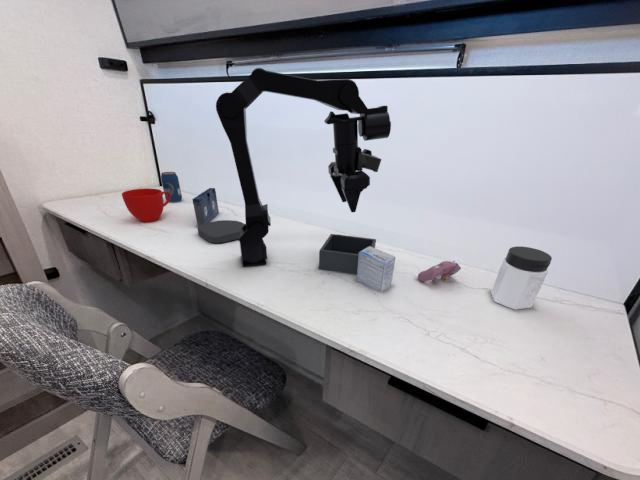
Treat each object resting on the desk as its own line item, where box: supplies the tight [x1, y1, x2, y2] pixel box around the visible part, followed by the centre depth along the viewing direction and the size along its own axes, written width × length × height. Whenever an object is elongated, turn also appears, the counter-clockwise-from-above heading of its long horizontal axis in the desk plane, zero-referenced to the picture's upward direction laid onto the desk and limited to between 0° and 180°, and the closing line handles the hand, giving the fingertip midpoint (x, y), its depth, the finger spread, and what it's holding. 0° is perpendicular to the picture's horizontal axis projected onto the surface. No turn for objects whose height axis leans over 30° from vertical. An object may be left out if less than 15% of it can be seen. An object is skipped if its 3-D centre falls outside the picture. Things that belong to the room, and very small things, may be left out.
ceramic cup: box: [121, 187, 171, 223], centre depth 114 cm, size 13×17×10 cm
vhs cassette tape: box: [192, 187, 220, 228], centre depth 114 cm, size 18×3×10 cm, turn 178°
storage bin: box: [318, 233, 377, 275], centre depth 86 cm, size 14×14×6 cm
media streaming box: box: [197, 219, 246, 244], centre depth 103 cm, size 15×15×3 cm
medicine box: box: [356, 246, 396, 292], centre depth 75 cm, size 8×4×9 cm, turn 47°
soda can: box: [160, 171, 183, 203], centre depth 136 cm, size 7×7×12 cm
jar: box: [490, 245, 553, 310], centre depth 69 cm, size 9×8×12 cm
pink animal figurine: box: [417, 260, 462, 284], centre depth 78 cm, size 10×5×7 cm, turn 118°
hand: (348, 206), depth 83 cm, fingers open, 9 cm apart
